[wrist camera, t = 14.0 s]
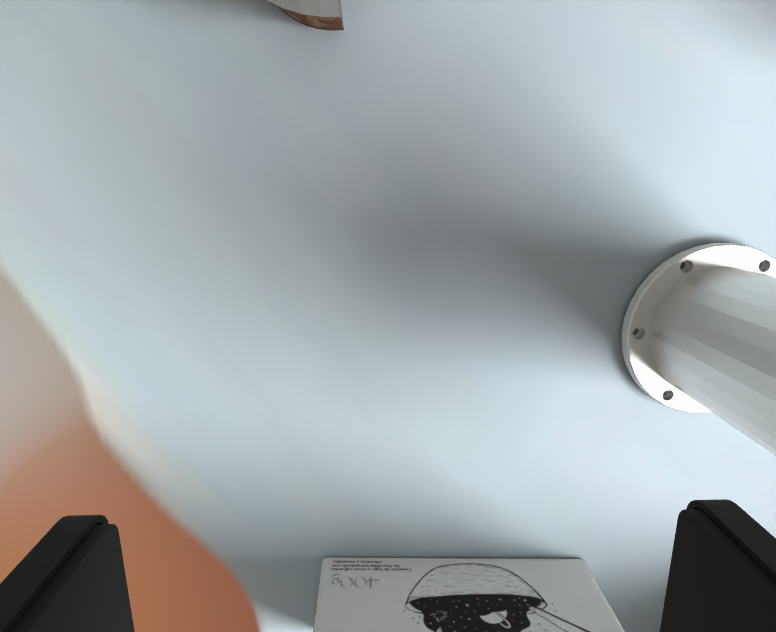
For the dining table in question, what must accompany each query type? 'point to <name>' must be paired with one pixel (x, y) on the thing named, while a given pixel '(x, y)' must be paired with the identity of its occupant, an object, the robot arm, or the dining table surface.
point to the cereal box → (460, 596)
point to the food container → (314, 12)
